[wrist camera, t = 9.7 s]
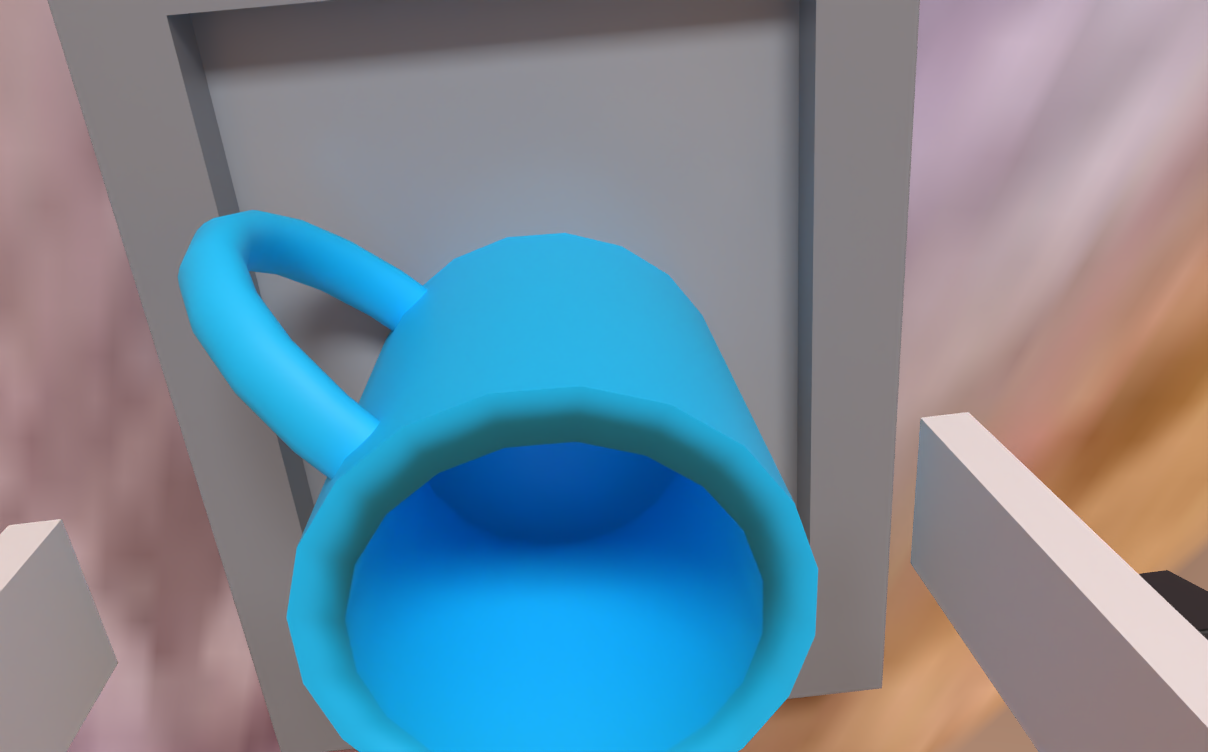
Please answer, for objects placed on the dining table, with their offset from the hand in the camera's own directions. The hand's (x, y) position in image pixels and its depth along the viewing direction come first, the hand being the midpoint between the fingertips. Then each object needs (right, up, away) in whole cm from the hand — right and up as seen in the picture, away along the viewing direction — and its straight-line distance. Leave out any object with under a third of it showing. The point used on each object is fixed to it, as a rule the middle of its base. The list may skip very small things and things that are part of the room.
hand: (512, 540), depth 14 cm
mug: (-1, +3, +7) cm, 8 cm away
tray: (0, +4, +8) cm, 9 cm away
